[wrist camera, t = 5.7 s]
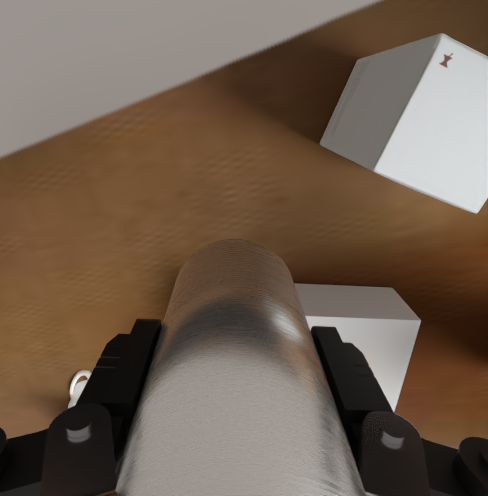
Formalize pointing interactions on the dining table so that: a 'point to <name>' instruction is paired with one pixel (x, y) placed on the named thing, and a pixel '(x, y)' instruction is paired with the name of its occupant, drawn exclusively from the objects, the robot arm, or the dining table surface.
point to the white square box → (367, 326)
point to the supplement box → (419, 119)
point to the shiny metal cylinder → (236, 390)
